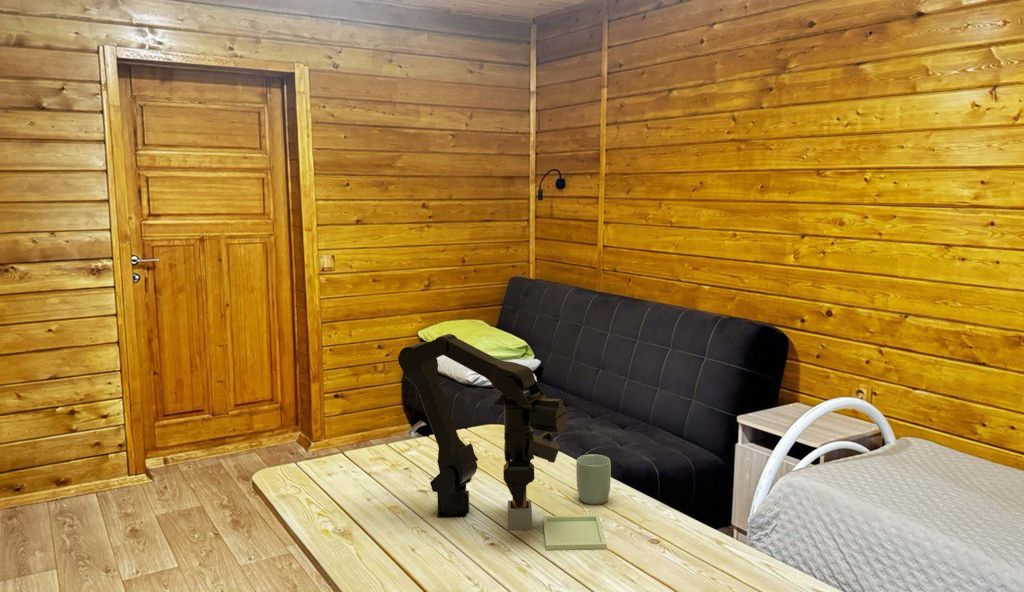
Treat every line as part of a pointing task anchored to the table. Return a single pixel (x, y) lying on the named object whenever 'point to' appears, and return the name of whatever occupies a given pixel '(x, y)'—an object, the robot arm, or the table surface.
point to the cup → (593, 478)
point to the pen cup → (519, 517)
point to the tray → (573, 532)
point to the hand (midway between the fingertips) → (519, 498)
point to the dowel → (523, 502)
